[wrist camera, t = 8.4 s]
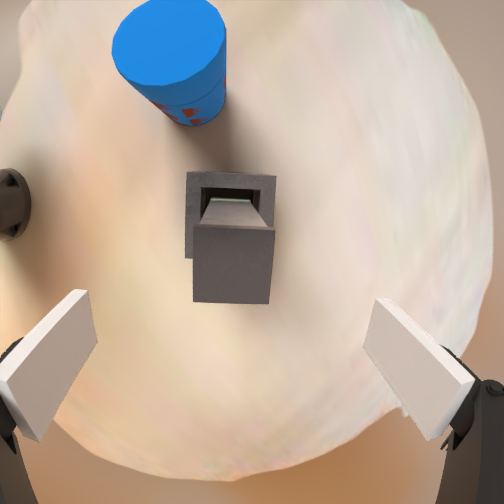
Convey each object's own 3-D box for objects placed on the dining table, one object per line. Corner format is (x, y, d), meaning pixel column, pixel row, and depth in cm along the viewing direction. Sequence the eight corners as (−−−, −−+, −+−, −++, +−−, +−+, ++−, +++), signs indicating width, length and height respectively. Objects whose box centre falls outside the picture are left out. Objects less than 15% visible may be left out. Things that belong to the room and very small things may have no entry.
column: (209, 237, 42) (193, 309, 20) (210, 195, 40) (193, 226, 19) (246, 239, 42) (268, 311, 21) (249, 197, 41) (275, 230, 19)
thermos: (190, 58, 41) (164, -21, 17) (239, 90, 44) (251, 23, 20) (150, 105, 43) (88, 58, 19) (198, 139, 45) (170, 110, 21)
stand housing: (192, 241, 50) (184, 260, 40) (194, 171, 47) (185, 172, 36) (261, 243, 51) (270, 263, 41) (266, 174, 48) (277, 176, 37)
